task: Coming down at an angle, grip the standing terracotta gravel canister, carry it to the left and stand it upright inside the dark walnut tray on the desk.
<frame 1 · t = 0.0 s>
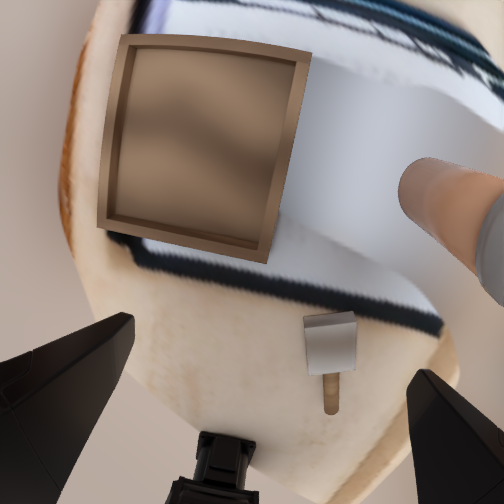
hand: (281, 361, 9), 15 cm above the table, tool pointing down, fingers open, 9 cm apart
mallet: (330, 361, 27), on the table
walnut tray: (197, 140, 21), on the table
gravel canister: (428, 191, 21), on the table
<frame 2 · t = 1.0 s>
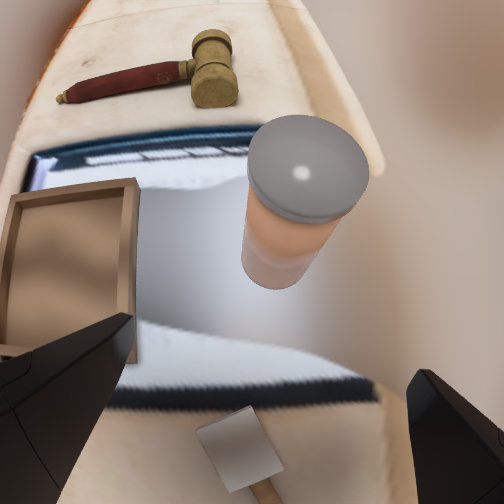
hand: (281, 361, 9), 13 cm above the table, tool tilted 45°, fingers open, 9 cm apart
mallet: (255, 475, 18), on the table
walnut tray: (64, 273, 23), on the table
gavel: (141, 90, 32), on the table
gravel canister: (274, 257, 25), on the table
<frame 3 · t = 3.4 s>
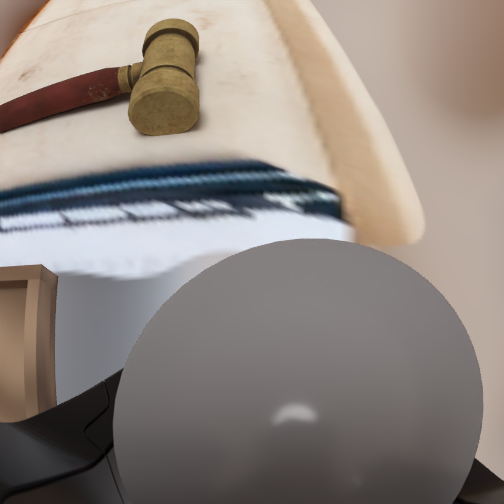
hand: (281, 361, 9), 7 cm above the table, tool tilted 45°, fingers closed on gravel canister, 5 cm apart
gavel: (75, 111, 22), on the table
gravel canister: (254, 396, 15), on the table, touching gripper
when the fingers open (8 cm above the table, at t = 7.1 s): gravel canister drops 1 cm, resting on walnut tray.
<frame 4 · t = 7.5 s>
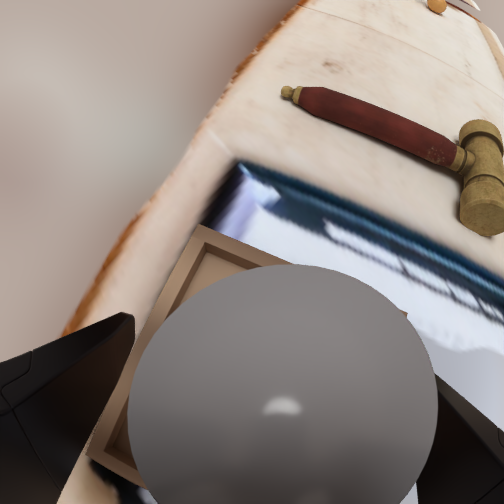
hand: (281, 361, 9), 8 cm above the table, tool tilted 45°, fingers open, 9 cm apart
figurine: (428, 9, 41), on the table
walnut tray: (251, 394, 16), on the table
gavel: (393, 147, 25), on the table
gravel canister: (251, 395, 16), point 1 cm above the table, touching walnut tray
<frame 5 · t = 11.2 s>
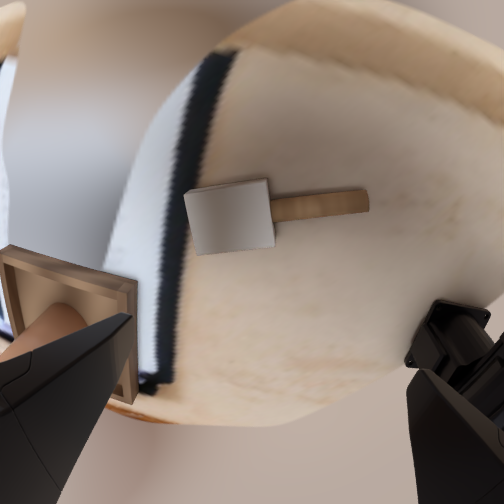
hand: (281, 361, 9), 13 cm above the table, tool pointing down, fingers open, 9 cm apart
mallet: (271, 208, 21), on the table
walnut tray: (70, 322, 26), on the table
gravel canister: (67, 326, 26), point 1 cm above the table, touching walnut tray
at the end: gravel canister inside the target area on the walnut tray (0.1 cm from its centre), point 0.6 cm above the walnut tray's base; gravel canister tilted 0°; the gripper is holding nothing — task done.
